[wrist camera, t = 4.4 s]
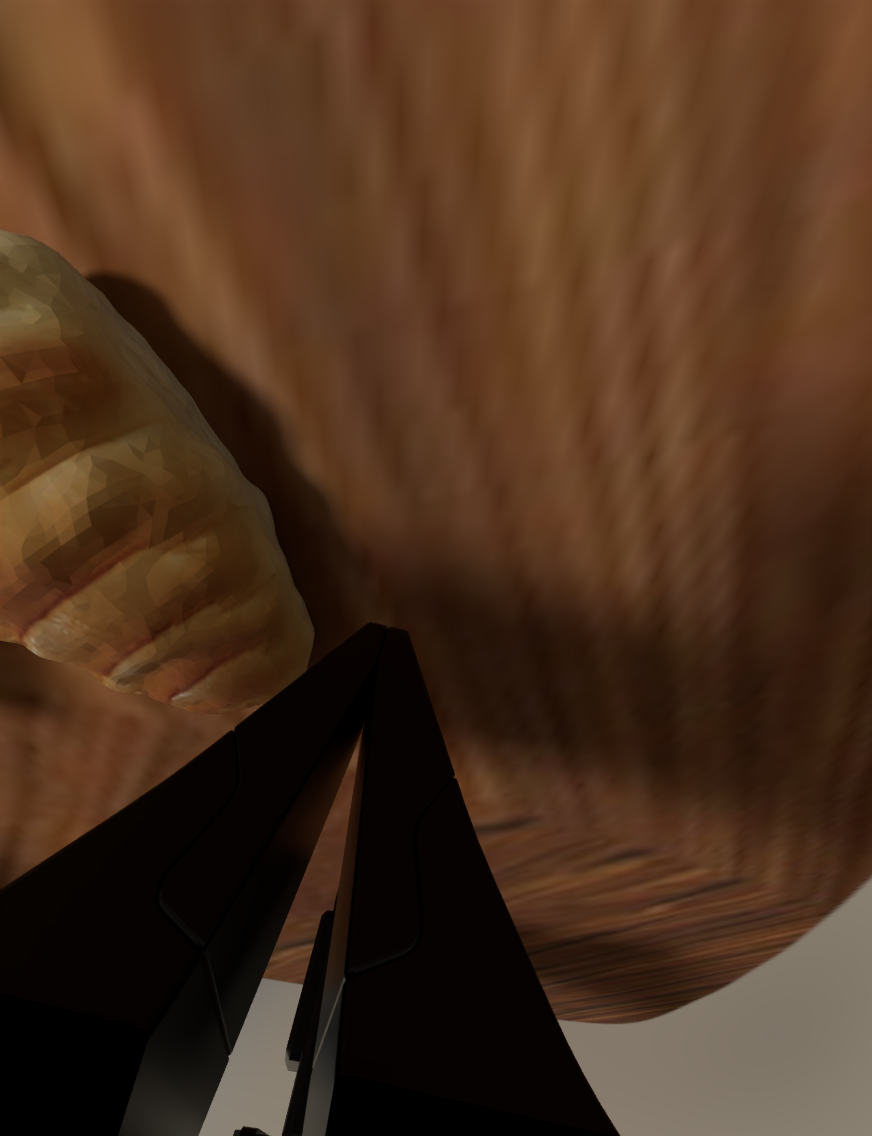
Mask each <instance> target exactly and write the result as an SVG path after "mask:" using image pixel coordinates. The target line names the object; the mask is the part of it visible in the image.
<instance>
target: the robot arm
mask: <svg viewBox="0 0 872 1136" xmlns="http://www.w3.org/2000/svg"><path fill="white" fill-rule="evenodd" d="M363 725H364V726H363ZM362 728H363V731H362ZM234 732H235V733H234ZM361 732H362V737H361V742H360V749H359V755H358V762H357V769H356V776H355V782H354V789H353V796H352V803H351V809H350V816H349V823H348V830H347V836H346V843H345V850H344V857H343V863H342V870H341V877H340V884H339V888H338V892H337V896H336V900H335V905H334V910H333V911H329V910H327V911H326V912H325V913H324V914H323V915H322V917H321V920H320V924H319V928H318V932H317V935H316V939H315V943H314V947H313V950H312V954H311V958H310V962H309V965H308V969H307V973H306V977H305V980H304V984H303V988H302V992H301V996H300V999H299V1003H298V1007H297V1010H296V1014H295V1018H294V1022H293V1025H292V1029H291V1033H290V1037H289V1040H288V1044H287V1048H286V1057H285V1062H286V1066H287V1069H288V1071H294V1072H297V1074H296V1078H295V1082H294V1087H293V1091H292V1095H291V1099H290V1103H289V1107H288V1112H287V1115H286V1120H285V1124H284V1128H283V1132H282V1136H620V1134H619V1133H618V1131H617V1130H616V1128H615V1127H614V1125H613V1123H612V1122H611V1120H610V1119H609V1117H608V1115H607V1114H606V1112H605V1110H604V1109H603V1108H602V1106H601V1104H600V1102H599V1101H598V1099H597V1097H596V1095H595V1094H594V1092H593V1090H592V1088H591V1086H590V1085H589V1083H588V1081H587V1079H586V1077H585V1076H584V1074H583V1072H582V1070H581V1068H580V1066H579V1064H578V1062H577V1060H576V1058H575V1056H574V1054H573V1052H572V1050H571V1048H570V1046H569V1045H568V1043H567V1040H566V1038H565V1036H564V1034H563V1032H562V1029H561V1027H560V1025H559V1023H558V1021H557V1019H556V1016H555V1014H554V1012H553V1010H552V1008H551V1005H550V1003H549V1001H548V999H547V996H546V994H545V992H544V990H543V987H542V985H541V983H540V981H539V978H538V976H537V974H536V972H535V969H534V967H533V965H532V963H531V960H530V958H529V956H528V954H527V951H526V949H525V947H524V945H523V943H522V940H521V938H520V936H519V934H518V931H517V929H516V927H515V925H514V922H513V920H512V918H511V916H510V913H509V911H508V909H507V907H506V904H505V902H504V900H503V898H502V895H501V893H500V891H499V889H498V886H497V884H496V882H495V879H494V877H493V875H492V872H491V870H490V867H489V865H488V863H487V860H486V858H485V856H484V853H483V851H482V848H481V846H480V844H479V841H478V839H477V836H476V833H475V830H474V827H473V825H472V822H471V819H470V816H469V814H468V811H467V808H466V805H465V803H464V799H463V796H462V793H461V790H460V787H459V784H458V781H457V779H456V778H454V776H455V773H454V770H453V767H452V764H451V761H450V758H449V755H448V751H447V748H446V745H445V742H444V739H443V736H442V733H441V730H440V727H439V724H438V721H437V718H436V715H435V712H434V709H433V706H432V703H431V700H430V697H429V694H428V691H427V688H426V685H425V681H424V678H423V675H422V672H421V669H420V666H419V663H418V660H417V657H416V654H415V651H414V648H413V645H412V642H411V639H410V636H409V633H408V631H406V630H403V629H399V628H394V627H390V628H389V629H388V628H387V626H385V625H381V624H377V623H373V622H369V623H367V624H366V625H365V626H363V627H362V628H361V629H360V630H358V631H357V632H356V633H354V634H353V635H352V636H351V637H349V638H348V639H347V640H345V641H344V642H343V643H342V644H340V645H339V646H338V647H337V648H335V649H334V650H333V651H331V652H330V653H329V654H328V655H326V656H325V657H324V658H323V659H321V660H320V661H319V662H317V663H316V664H315V665H314V666H312V667H311V668H310V669H308V670H307V671H306V672H305V673H303V674H302V675H301V676H300V677H298V678H297V679H296V680H294V681H293V682H292V683H291V684H289V685H288V686H287V687H285V688H284V689H283V690H282V691H280V692H279V693H278V694H277V695H275V696H274V697H273V698H271V699H270V700H269V701H268V702H266V703H265V704H264V705H263V706H261V707H260V708H259V709H257V710H256V711H255V712H254V713H252V714H251V715H250V716H248V717H247V718H246V719H245V720H243V721H242V722H241V723H240V724H238V725H237V726H236V727H235V729H234V731H232V730H231V731H229V732H228V733H226V734H225V735H224V736H223V737H221V738H220V739H219V740H218V741H216V742H215V743H214V744H212V745H211V746H210V747H209V748H207V749H206V750H205V751H203V752H202V753H201V754H199V755H198V756H197V757H195V758H194V759H193V760H191V761H190V762H189V763H187V764H186V765H185V766H183V767H182V768H181V769H179V770H178V771H177V772H175V773H174V774H173V775H171V776H170V777H168V778H167V779H165V780H164V781H162V782H161V783H160V784H158V785H157V786H155V787H154V788H152V789H151V790H149V791H148V792H146V793H145V794H143V795H142V796H141V797H139V798H138V799H136V800H135V801H133V802H132V803H130V804H129V805H127V806H126V807H124V808H123V809H122V810H120V811H119V812H117V813H116V814H114V815H112V816H111V817H109V818H108V819H106V820H105V821H103V822H102V823H100V824H99V825H97V826H96V827H94V828H93V829H91V830H90V831H88V832H87V833H85V834H84V835H82V836H81V837H79V838H78V839H76V840H75V841H73V842H72V843H70V844H69V845H67V846H66V847H64V848H62V849H61V850H59V851H58V852H56V853H55V854H53V855H52V856H50V857H49V858H47V859H46V860H44V861H43V862H41V863H40V864H38V865H37V866H35V867H34V868H32V869H31V870H29V871H28V872H26V873H25V874H23V875H22V876H20V877H19V878H17V879H15V880H14V881H12V882H11V883H9V884H8V885H6V886H5V887H3V888H2V889H0V1136H198V1135H199V1133H200V1130H201V1128H202V1125H203V1122H204V1120H205V1118H206V1115H207V1113H208V1110H209V1108H210V1105H211V1103H212V1100H213V1098H214V1096H215V1093H216V1091H217V1088H218V1086H219V1083H220V1081H221V1078H222V1076H223V1073H224V1071H225V1068H226V1066H227V1063H228V1061H229V1057H228V1056H229V1055H230V1054H231V1053H232V1051H233V1048H234V1046H235V1043H236V1041H237V1038H238V1036H239V1034H240V1031H241V1029H242V1026H243V1024H244V1021H245V1019H246V1016H247V1014H248V1011H249V1009H250V1006H251V1004H252V1001H253V999H254V997H255V994H256V992H257V989H258V987H259V984H260V982H261V979H262V977H263V974H264V972H265V969H266V967H267V965H268V962H269V960H270V957H271V955H272V952H273V950H274V947H275V945H276V942H277V940H278V937H279V935H280V932H281V930H282V928H283V925H284V923H285V920H286V918H287V915H288V913H289V910H290V908H291V905H292V903H293V900H294V898H295V895H296V893H297V891H298V888H299V886H300V883H301V881H302V878H303V876H304V873H305V871H306V868H307V866H308V863H309V861H310V858H311V856H312V854H313V851H314V849H315V846H316V844H317V841H318V839H319V836H320V834H321V831H322V829H323V826H324V824H325V821H326V819H327V816H328V814H329V812H330V809H331V807H332V804H333V802H334V799H335V797H336V794H337V792H338V789H339V787H340V784H341V782H342V779H343V777H344V775H345V772H346V770H347V767H348V765H349V762H350V760H351V757H352V755H353V752H354V750H355V747H356V745H357V742H358V740H359V737H360V734H361ZM233 1136H269V1135H268V1134H266V1133H265V1132H263V1131H261V1130H260V1129H258V1128H251V1127H245V1126H243V1128H242V1129H241V1130H235V1131H234V1134H233Z"/></svg>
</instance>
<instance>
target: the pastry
mask: <svg viewBox="0 0 872 1136" xmlns="http://www.w3.org/2000/svg"><path fill="white" fill-rule="evenodd" d="M314 635H315V633H314V628H313V625H312V622H311V620H310V617H309V614H308V612H307V609H306V604H305V602H304V600H303V598H302V597H301V595H300V594H299V592H298V590H297V589H296V587H295V585H294V582H293V579H292V576H291V573H290V570H289V567H288V564H287V561H286V557H285V555H284V553H283V552H282V550H281V547H280V545H279V543H278V540H277V537H276V533H275V525H274V519H273V515H272V512H271V509H270V506H269V503H268V501H267V499H266V497H265V495H264V493H263V492H262V491H261V490H260V489H259V488H258V487H256V486H254V485H253V484H251V483H250V482H249V481H248V480H247V479H246V478H245V477H244V476H243V474H242V473H241V471H240V469H239V467H238V465H237V463H236V461H235V459H234V458H233V456H232V455H231V453H230V452H229V451H228V450H227V448H226V447H225V446H224V445H223V443H222V442H221V441H220V440H219V438H218V437H217V435H216V434H215V433H214V431H213V430H212V428H211V427H210V425H209V424H208V422H207V421H206V420H205V418H204V417H203V415H202V414H201V412H200V410H199V409H198V407H197V405H196V403H195V402H194V400H193V398H192V397H191V395H190V394H189V393H188V392H187V391H186V389H185V388H184V387H183V386H182V385H181V384H180V383H179V381H178V380H177V379H176V377H175V376H174V374H173V373H172V372H171V370H170V369H169V368H168V367H167V366H166V365H165V364H164V362H163V361H162V360H161V359H160V358H159V357H158V356H157V355H156V353H155V352H154V351H153V349H152V348H151V347H150V345H149V344H148V342H147V341H146V340H145V338H144V337H143V336H142V335H141V334H140V333H139V332H138V331H137V330H136V329H135V328H134V327H133V326H132V325H131V324H129V323H128V322H127V321H126V320H125V319H124V318H123V317H122V316H121V315H120V314H119V313H118V312H117V311H116V309H115V308H114V307H113V306H112V304H111V303H110V302H109V300H108V299H107V298H106V297H105V295H104V294H103V293H102V292H101V291H100V290H98V289H97V288H96V287H95V286H94V285H92V284H91V283H90V282H89V281H88V280H86V279H85V278H84V277H83V276H82V275H81V274H80V273H79V272H78V271H77V270H76V269H75V268H74V267H73V266H72V265H71V264H70V263H69V262H68V261H67V260H66V259H65V258H64V257H63V256H61V255H60V254H59V253H58V252H56V251H55V250H53V249H52V248H50V247H48V246H47V245H45V244H43V243H42V242H39V241H37V240H35V239H33V238H31V237H29V236H25V235H21V234H17V233H12V232H8V231H4V230H0V641H6V642H12V643H17V644H21V645H24V646H25V647H26V648H28V649H29V650H31V651H32V652H33V653H35V654H36V655H38V656H39V657H41V658H45V659H49V660H54V661H57V662H62V663H68V664H71V665H75V666H79V667H82V668H83V669H85V670H87V671H89V672H90V673H91V674H92V675H94V676H95V677H96V678H97V679H98V680H99V681H100V682H101V683H102V684H103V685H105V686H107V687H108V688H110V689H112V690H115V691H118V692H121V693H134V694H140V695H148V696H149V697H151V698H152V699H154V700H156V701H160V702H163V703H166V704H170V705H174V706H178V707H181V708H183V709H185V710H188V711H191V712H194V713H199V714H217V713H224V712H231V711H237V710H242V709H245V708H249V707H252V706H255V705H259V704H262V703H265V702H268V701H269V700H270V699H271V698H273V697H274V696H275V695H277V694H278V693H279V692H280V691H282V690H283V689H284V688H285V687H287V686H288V685H289V684H291V683H292V682H293V681H294V680H296V679H297V678H298V677H300V676H301V675H302V674H303V673H305V672H306V670H307V666H308V662H309V657H310V654H311V651H312V647H313V642H314Z"/></svg>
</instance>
